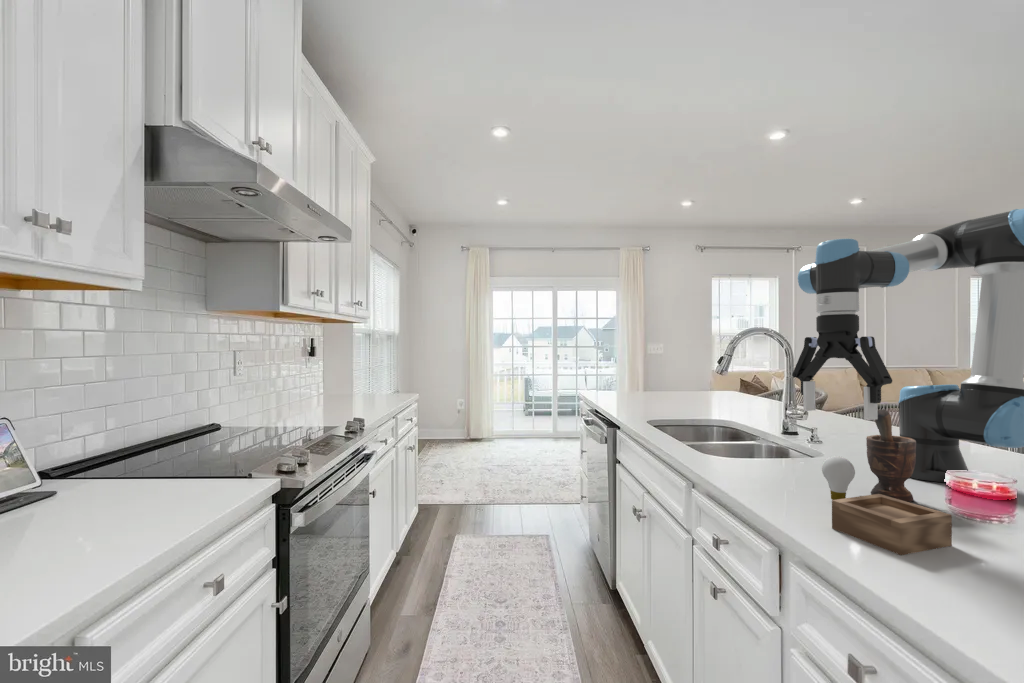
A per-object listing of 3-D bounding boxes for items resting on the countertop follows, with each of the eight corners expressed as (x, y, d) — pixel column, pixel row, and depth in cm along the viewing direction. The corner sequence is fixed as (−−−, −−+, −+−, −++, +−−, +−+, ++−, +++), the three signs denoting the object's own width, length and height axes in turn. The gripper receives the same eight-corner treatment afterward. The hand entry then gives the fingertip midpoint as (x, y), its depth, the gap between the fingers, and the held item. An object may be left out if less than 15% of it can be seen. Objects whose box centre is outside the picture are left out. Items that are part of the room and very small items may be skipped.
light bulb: (849, 500, 106) (849, 454, 106) (859, 509, 100) (859, 460, 100) (818, 497, 108) (818, 452, 108) (826, 506, 102) (825, 458, 102)
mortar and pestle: (923, 511, 99) (923, 412, 99) (870, 504, 103) (870, 409, 103) (912, 495, 109) (911, 405, 109) (864, 489, 113) (864, 403, 113)
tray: (879, 520, 94) (879, 493, 94) (951, 545, 82) (951, 514, 82) (831, 528, 90) (831, 500, 90) (900, 555, 79) (900, 523, 79)
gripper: (774, 316, 114) (775, 408, 114) (886, 310, 90) (887, 425, 90) (799, 317, 116) (800, 406, 116) (914, 310, 92) (915, 422, 92)
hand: (838, 414), depth 103 cm, fingers open, 13 cm apart
